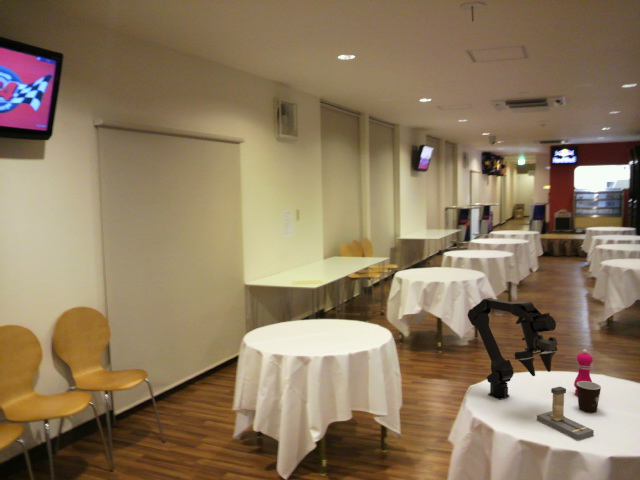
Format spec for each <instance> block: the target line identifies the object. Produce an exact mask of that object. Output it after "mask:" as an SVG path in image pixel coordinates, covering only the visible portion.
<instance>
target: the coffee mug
mask: <svg viewBox="0 0 640 480" xmlns="http://www.w3.org/2000/svg"><path fill="white" fill-rule="evenodd" d="M601 388H602V386H601V385H600V384H598V383H596V382H593V381H592V382H588V381H580V382H577V394H578V396H577V404H578V410H579V411H581V412H583V413H586V414H587V413H589V414H594V413H597V412H598V411H597V410H598V407H599V401H600V394H601V391H602V389H601Z"/></svg>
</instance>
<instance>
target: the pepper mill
mask: <svg viewBox="0 0 640 480" xmlns="http://www.w3.org/2000/svg"><path fill="white" fill-rule="evenodd" d="M576 361H577V362H578V363H577V368H578V372H577V376H576V378H575V379H574V383H573V386H574V388H575V390H574V394H575V396H577V397H578V394H577V382H580V381H588V382H593V381H592V378H591V373H590V370H591V369H592V365H591V364H592V363H593V362H594V360H593V356H592V354H590V353H588V349H583V350H582V352H580V353H577V355H576Z"/></svg>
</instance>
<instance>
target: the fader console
mask: <svg viewBox="0 0 640 480" xmlns="http://www.w3.org/2000/svg"><path fill="white" fill-rule="evenodd" d="M551 415H552V410H550V411H547V412H543V413H540V414H539V413H538V414H537V415H536V421H538V422H539V423H542V424H544V425H546V426H547V427H550V428H552V429H554V430H556V431H558V432H560V433H562V434H564V435H566V436H568V437H570V438H572V439H574V440H576V441H580V440H584V439H587V438H590V437H594V435H595V434H594V433H595V432H594V431H595V430H594V429H592V428H590V427H588V426H586V425H583V424H581V423H579V422H576V421H574V420H573V419H570V418H568V417H566V416H565V419H563V420H559V421H556V420H554V419H552V418H550V416H551Z"/></svg>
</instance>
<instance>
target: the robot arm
mask: <svg viewBox="0 0 640 480" xmlns="http://www.w3.org/2000/svg"><path fill="white" fill-rule="evenodd" d="M492 310H497V311H502V312H505V313H506V312H507V313H511V315H512V316H515V317H517V320H516V322H515V325H519V324H520V326H521V330H522V334H523V337H521V339H522V341H524V343H525V346H526V348H524V350H519V351H515V352H514V355H513V356H514V359H515V360H517V362H520V363H521V365H523V366H524V367H525V369H526V370H527V372H529V374H530V375H531V376H532V377H535V376H536V371H535V366H534V361H535V357H534V355H537V354H538V355H539V357H540V359H541V361H542V363H543V365H544V367H545V370H546V371H547V372H551V371H552V370H551V369H552V360H553V359H552V358H553V356H554V355H555V354H556V351H558V341H557V339H556V337H554V336H551V337H549V338H544V336H543V334H540V333H545V332H546V333H547V332H551V331H555V330H556V327H557V322H556V320H555V319H554V318H553V316H552V315H550V313H549V312H545V313H543V314H542V313H541V312H540V311H539V309H537V307H535V305H534V304H533V302H532V301H515V302H514V301H508V300H502V299H496V298H493V297H488V298H483V299H482V300H480V302H478V303H477V304H476V305H474V306H473V307H472V308H471V309H469V310H468V312H467V318H468V320H469V322H470V324H471V325H472V326H473V327H474V328H475V329H477V331H478V333H479V335H480V338H481V340H482V342H483V345H484V348H485V350H486V353H487V354H488V357H489V360H490V371H491V373H489V374H488V375H487V376H486V380H487V383H489V384H490V386H489V389H490V391H489V393H487V396H490V397H492V398H495V399H497V400H503V399H506V398H508V397H510V394H509V386H508V383H509V382H511V380H512V379H513V376H514V367H513V365H512V363H511V361H510V360H509V359H505V358H504V357H503V354H502V353H501V350H500V349H499V345H498V344H497V341H496V339H495V337H494V334H493V333H492V329H491V327H490V316H489V315H490V313H491V312H492Z"/></svg>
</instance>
